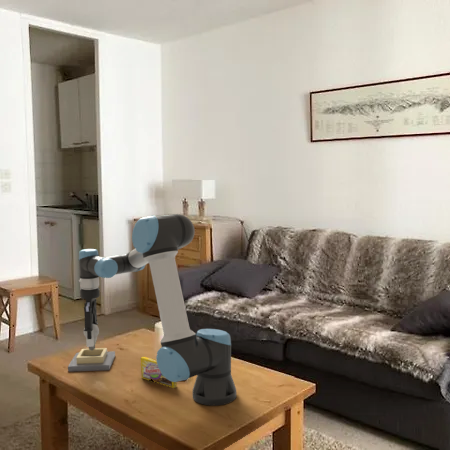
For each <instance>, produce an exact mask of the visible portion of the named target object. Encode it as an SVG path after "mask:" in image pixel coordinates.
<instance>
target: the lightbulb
mask: <svg viewBox="0 0 450 450" xmlns="http://www.w3.org/2000/svg"><path fill="white" fill-rule="evenodd" d="M84 330H85V327H84V328H83V335H84V337H85V338H86V331H84ZM99 333H100V328H99V325H95V324H93V338H94V346H93V347H88V349H89V350H91V351H92V350H94V349H95V348H96V344H97V343H96V342H97V341H96V338H97V339H98V336H99Z"/></svg>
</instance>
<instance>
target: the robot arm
mask: <svg viewBox="0 0 450 450" xmlns="http://www.w3.org/2000/svg"><path fill="white" fill-rule="evenodd" d="M195 230H196V229H195V226H194V224H193V222H192V220H191V219H190V218H189V217H187V216H186V215H183V214H179V213H172V214H159V215H157V214H156V215H154V214H153V215H149V216H144V217H141V218H139V219H138V220H136V222H135V224H134V227H133V229H132V236H131V239H132V240H131V242H132V245H133V247H134V249H132V250H130V251H129V252H127V253H124V254H123V253H122V254H116V255H108V256H99V251H98V249H96V248H95V249H94V248H85V249H81V250H79V252H78V267H79V268H78V269H79V270H78V271H79V279H78V282H79V286H80V292H79V293H80V298H81V299H83V300H84V299H85V302H84V307H83V310H84V328H85V330H84V329H83V331H86V337H85V338H86V340H85V341H86V342H85V343H86V344H85V345H86V347H87V348H89V347H93V346H94V338H93V324H95V325H97V326H99V322H98V319H97V318H98V316H97V315H98V313H97V298H99V297H100V291H101V290H100V278H102V279H110V278H113V277H114V276H115V275H120V274H121V275H122V274H128V273H133V272H134V273H135V272H139V271H142V270H144V269H145V267H146V265H147V264H149V269H150V273H151V278H152V284H153V287H154V288H153V289H154V293H155V298H156V303H157V308H158V312H159V318H160V323H161V327H162V331H163V336H162V338H161V339H160V347H161V348H159V349H158V350H157V353H156V358H155V360H157V365H158V368H159V370H160V372H161V373H162V374H163V376H165V378H166V379H168V380H169V381H172V382H176V383H177V382H181V381H186V380H188V379H190V378H192V377H195V376H196V378H195V382H194V385H193V388H192V400H194V401H195V402H196V403H198V404H200V405H205V406H212V407H213V406H223V405H227V404H230V403H232V402H234V401H235V400H236V398H237V388H236V385H235V382H234V379H233V375H232V339H231V334H230V333H228V332H227V331H225V330H222V329H216V328H201V329H198V330H197V331H196V332H194V331H193V330H192V329H191V328H190V324H189V320H188V315H187V309H186V304H185V301H184V300H185V299H184V296H183V291H182V286H181V282H180V276H179V271H178V267H177V263H176V256H177V254H178V253H179V250H180V249H183V248H184V247H186V246H188V245H189V244H190V243H191V242H193V240H194V237H195V232H196V231H195ZM97 340H98V337H97V338H96V342H97Z"/></svg>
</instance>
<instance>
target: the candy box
mask: <svg viewBox="0 0 450 450" xmlns="http://www.w3.org/2000/svg"><path fill="white" fill-rule="evenodd" d="M140 370H141V379H142V380H143V379H144V380H147V381H149V380H151V379H152V380H153V381H154V382H153V383H155V382H157V383H156V384H159V383H160V384H159V385H162V384H163V386H165V385H166V386H165V387H168V386H169V388H171V389H175V388H177V387H178V386H177V382H172V381H169V380H168V379H166V378H165V376H163V374H162V373H161V372H160V370H159V368H158V365H157V360H156V358H155V359H153V358H151V357H147V356H142V357H140Z"/></svg>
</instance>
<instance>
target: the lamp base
mask: <svg viewBox="0 0 450 450" xmlns="http://www.w3.org/2000/svg"><path fill="white" fill-rule="evenodd" d="M115 357H116V351H115V350H112V351H108V348H107V347H99V348H98V347H95V349H94V350H92V351H91V350H89V348H81V349H80V351H79V352H76V353H75V354H74V356H73V357H72V359H71V361H70V363H69V364H68V366H67V372H68V371H69V372H88V371H89V372H91V371H92V372H93V371H94V372H95V371H96V372H97V371H110V369H111V367H112V364H113V362H114V360H115Z"/></svg>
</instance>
